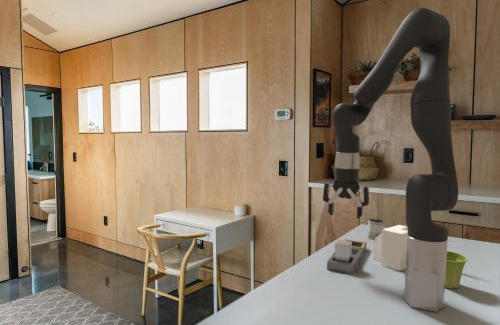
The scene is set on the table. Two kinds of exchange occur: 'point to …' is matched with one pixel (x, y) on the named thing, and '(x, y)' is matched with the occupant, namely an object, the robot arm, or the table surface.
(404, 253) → the white angular block
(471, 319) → the table surface
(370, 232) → the camera lens
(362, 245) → the rail
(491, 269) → the table surface
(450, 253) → the plant pot
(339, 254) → the pale grey square box
